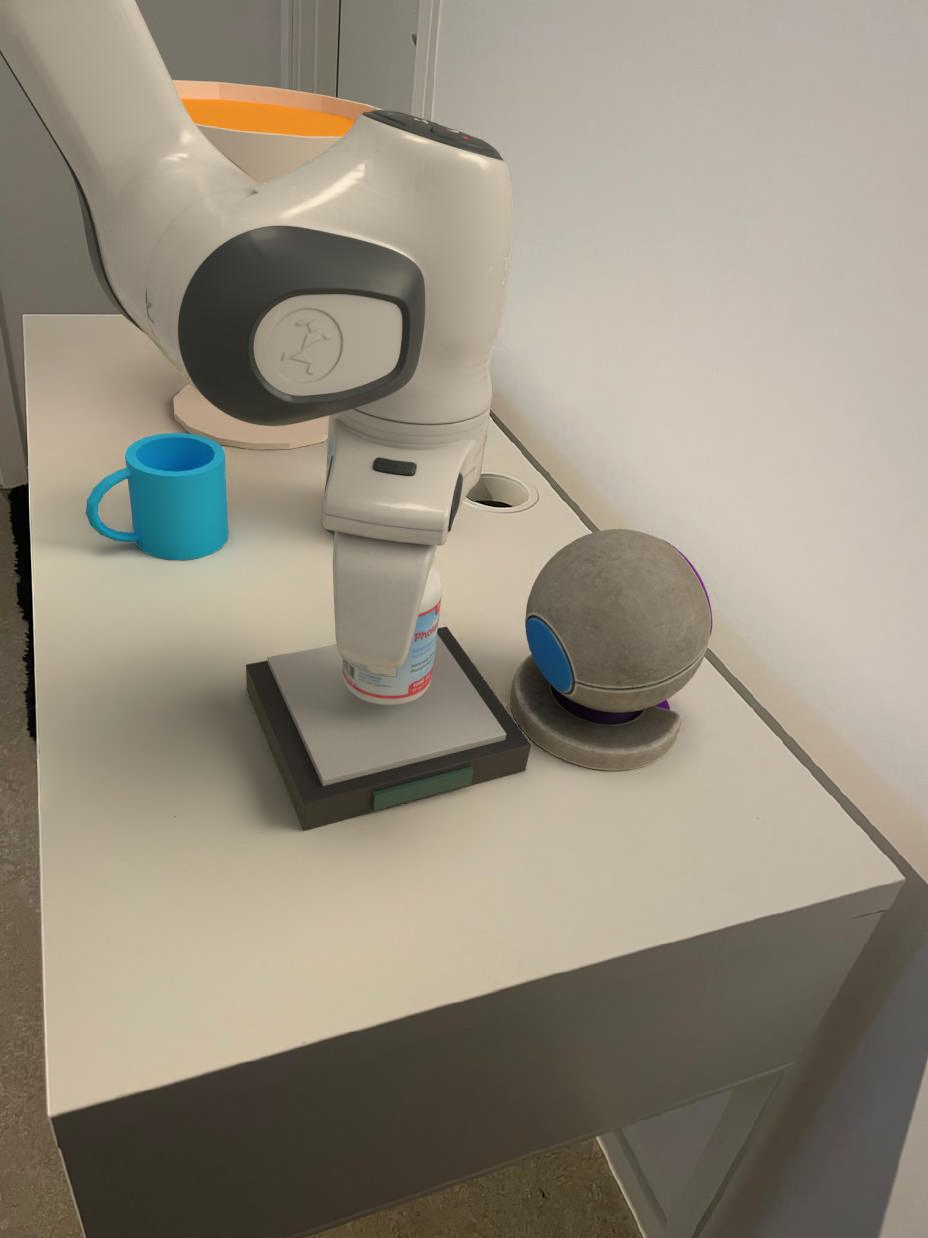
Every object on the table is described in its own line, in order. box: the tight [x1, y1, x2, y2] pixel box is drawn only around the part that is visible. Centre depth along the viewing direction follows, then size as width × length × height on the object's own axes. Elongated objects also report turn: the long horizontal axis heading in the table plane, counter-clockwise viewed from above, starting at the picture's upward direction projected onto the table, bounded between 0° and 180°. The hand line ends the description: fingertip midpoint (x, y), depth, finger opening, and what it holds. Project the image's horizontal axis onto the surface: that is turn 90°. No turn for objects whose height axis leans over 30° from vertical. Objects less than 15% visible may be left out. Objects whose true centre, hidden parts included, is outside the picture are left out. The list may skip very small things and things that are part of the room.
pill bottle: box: [342, 554, 443, 705], centre depth 58 cm, size 6×6×11 cm
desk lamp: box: [172, 79, 384, 451], centre depth 96 cm, size 30×30×31 cm
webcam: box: [509, 528, 713, 771], centre depth 65 cm, size 13×13×15 cm
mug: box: [85, 432, 229, 561], centre depth 78 cm, size 12×8×8 cm
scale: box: [245, 626, 532, 831], centre depth 64 cm, size 16×14×3 cm
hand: (390, 632), depth 59 cm, fingers closed on pill bottle, 6 cm apart
